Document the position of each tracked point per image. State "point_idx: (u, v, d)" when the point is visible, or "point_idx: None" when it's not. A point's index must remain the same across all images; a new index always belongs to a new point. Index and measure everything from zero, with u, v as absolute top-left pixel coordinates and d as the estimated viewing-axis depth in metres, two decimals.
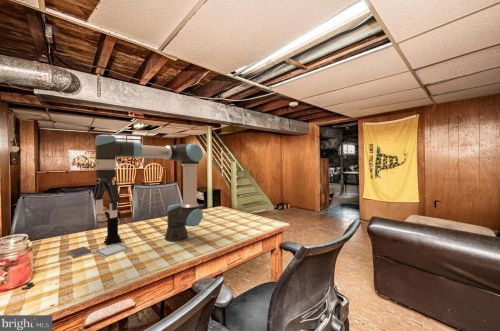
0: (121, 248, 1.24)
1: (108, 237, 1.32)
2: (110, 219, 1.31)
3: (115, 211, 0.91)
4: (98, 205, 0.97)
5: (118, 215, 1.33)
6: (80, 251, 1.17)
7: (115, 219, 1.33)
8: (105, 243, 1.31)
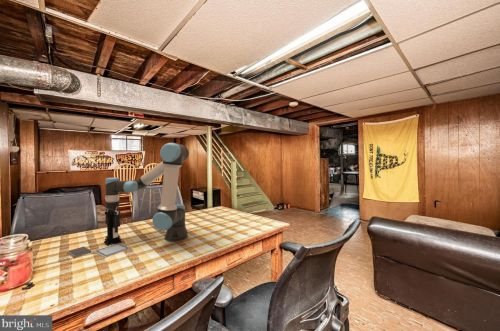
0: (121, 248, 1.24)
1: (108, 237, 1.32)
2: (110, 219, 1.31)
3: (116, 233, 1.32)
4: None
5: None
6: (80, 251, 1.17)
7: None
8: (105, 243, 1.31)
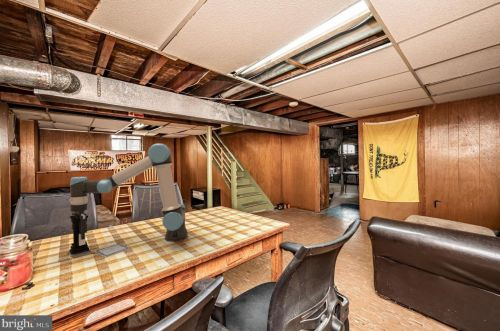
0: (121, 248, 1.24)
1: (73, 244, 1.16)
2: (76, 224, 1.15)
3: (83, 240, 1.16)
4: None
5: None
6: None
7: None
8: (70, 251, 1.15)
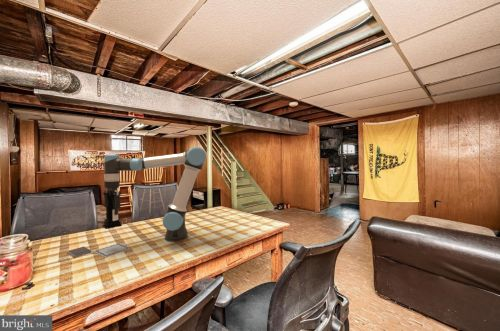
0: (121, 248, 1.24)
1: (107, 220, 1.20)
2: (109, 200, 1.19)
3: (116, 215, 1.20)
4: None
5: None
6: (80, 251, 1.17)
7: None
8: (104, 226, 1.19)
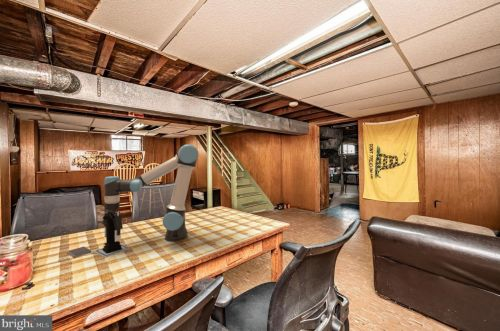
0: None
1: (107, 244, 1.20)
2: (109, 224, 1.19)
3: (119, 236, 1.19)
4: None
5: None
6: (80, 251, 1.17)
7: None
8: (104, 251, 1.19)
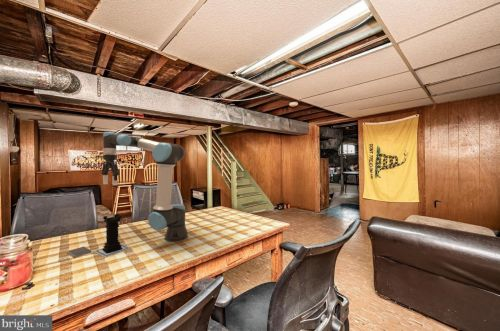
0: None
1: (107, 244, 1.20)
2: (110, 224, 1.19)
3: (116, 181, 1.40)
4: (104, 179, 1.46)
5: (118, 220, 1.22)
6: (80, 251, 1.17)
7: (115, 224, 1.21)
8: (104, 251, 1.19)
